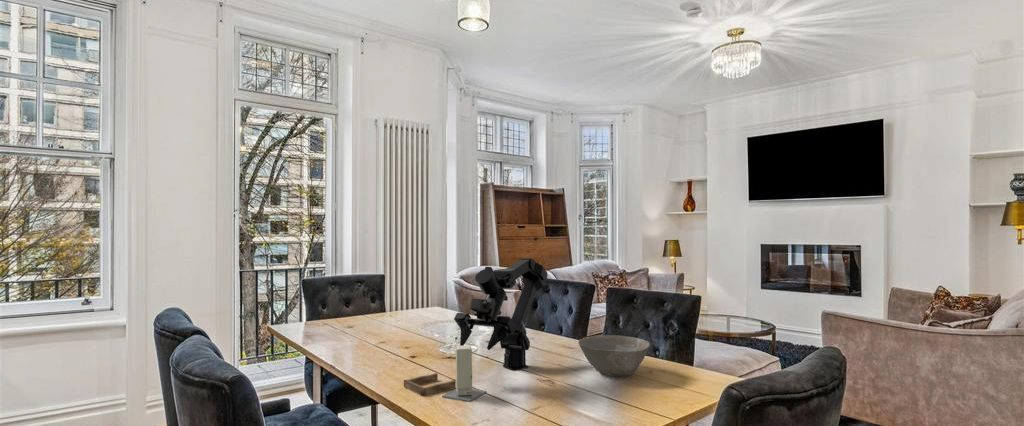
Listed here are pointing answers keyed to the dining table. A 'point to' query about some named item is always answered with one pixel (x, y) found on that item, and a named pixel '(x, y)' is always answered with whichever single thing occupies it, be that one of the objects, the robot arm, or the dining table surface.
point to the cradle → (415, 387)
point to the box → (464, 370)
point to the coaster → (467, 398)
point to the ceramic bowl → (614, 353)
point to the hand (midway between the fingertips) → (474, 347)
